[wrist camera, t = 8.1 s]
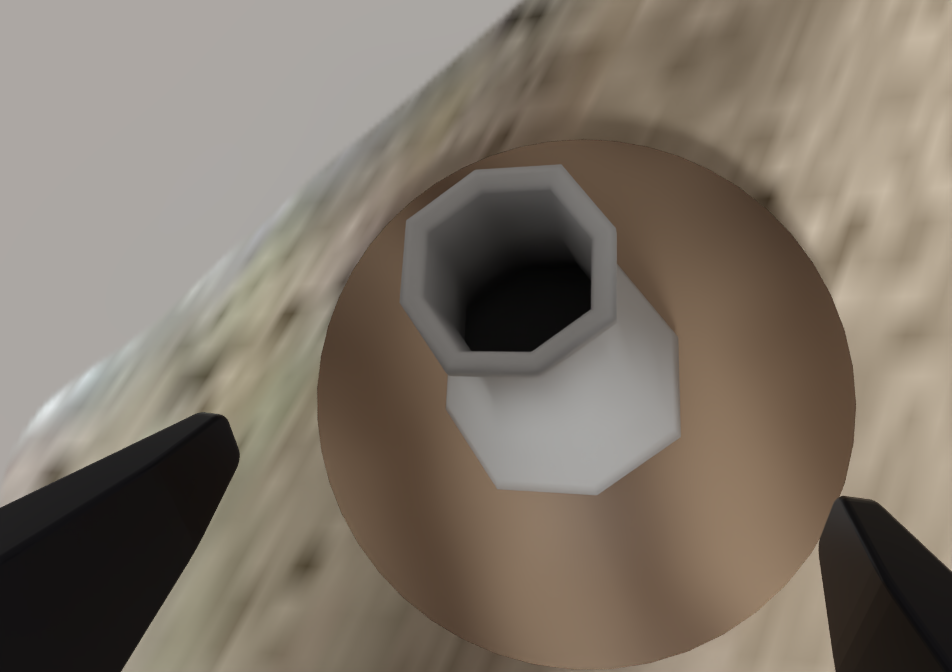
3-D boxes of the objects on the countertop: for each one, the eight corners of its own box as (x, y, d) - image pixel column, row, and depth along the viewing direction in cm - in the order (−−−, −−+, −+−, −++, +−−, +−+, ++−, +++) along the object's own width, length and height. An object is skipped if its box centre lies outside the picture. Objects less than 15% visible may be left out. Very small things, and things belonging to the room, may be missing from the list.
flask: (420, 304, 19) (235, 140, 10) (636, 231, 18) (670, -34, 9) (478, 527, 17) (317, 602, 8) (723, 460, 16) (894, 448, 7)
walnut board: (476, 759, 17) (466, 781, 16) (265, 317, 22) (245, 308, 20) (970, 475, 16) (999, 476, 15) (633, 75, 21) (634, 52, 19)
